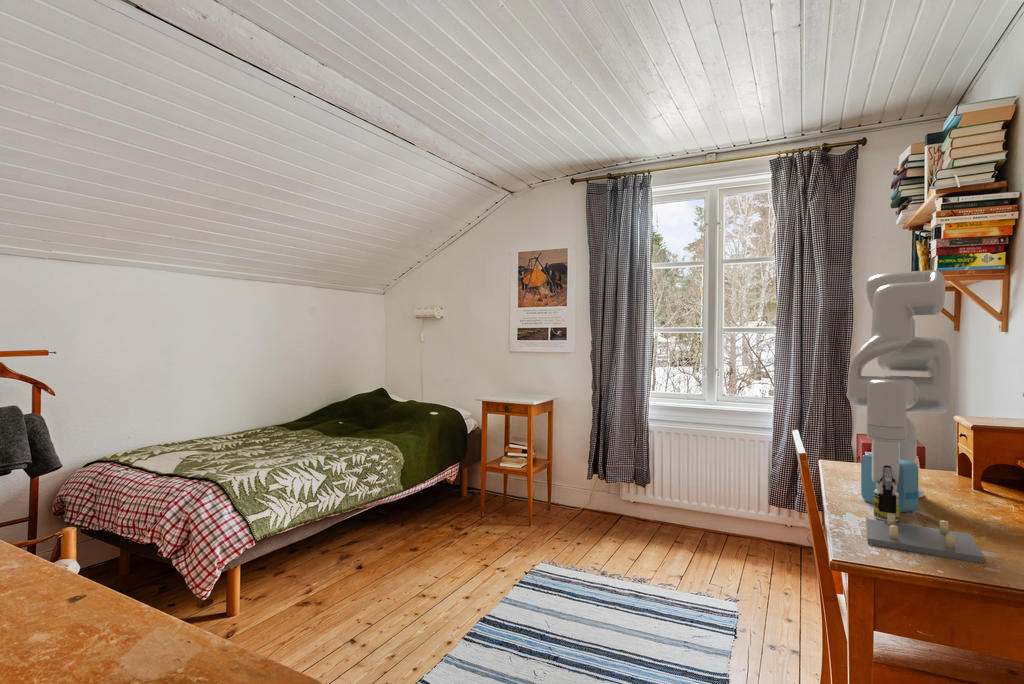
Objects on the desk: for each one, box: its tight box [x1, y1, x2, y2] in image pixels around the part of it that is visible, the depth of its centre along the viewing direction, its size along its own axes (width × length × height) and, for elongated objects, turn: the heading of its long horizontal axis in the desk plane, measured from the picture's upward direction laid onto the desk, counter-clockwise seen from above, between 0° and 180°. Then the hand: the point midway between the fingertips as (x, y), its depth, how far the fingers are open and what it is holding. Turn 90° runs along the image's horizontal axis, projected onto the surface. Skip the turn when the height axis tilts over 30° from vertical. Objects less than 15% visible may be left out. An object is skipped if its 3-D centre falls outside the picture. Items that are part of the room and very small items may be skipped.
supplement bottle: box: [873, 481, 900, 523], centre depth 125 cm, size 5×5×8 cm
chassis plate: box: [865, 513, 985, 564], centre depth 111 cm, size 14×18×4 cm
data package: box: [860, 453, 919, 513], centre depth 134 cm, size 12×4×12 cm, turn 13°
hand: (886, 506), depth 125 cm, fingers open, 9 cm apart
